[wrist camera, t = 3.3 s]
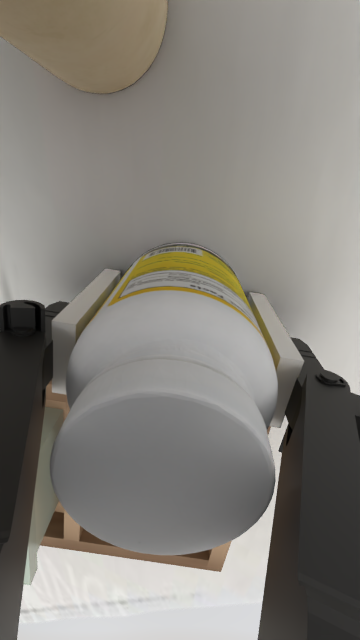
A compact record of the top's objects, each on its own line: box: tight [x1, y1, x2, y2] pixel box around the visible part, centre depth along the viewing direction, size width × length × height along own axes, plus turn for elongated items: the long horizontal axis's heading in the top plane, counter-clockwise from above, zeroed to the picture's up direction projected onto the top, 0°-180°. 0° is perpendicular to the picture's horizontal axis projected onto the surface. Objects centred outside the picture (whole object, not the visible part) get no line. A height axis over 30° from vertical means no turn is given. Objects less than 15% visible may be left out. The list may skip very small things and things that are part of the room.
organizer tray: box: [40, 379, 271, 572], centre depth 20 cm, size 13×20×2 cm, turn 81°
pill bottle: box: [50, 243, 278, 555], centre depth 12 cm, size 6×6×11 cm
